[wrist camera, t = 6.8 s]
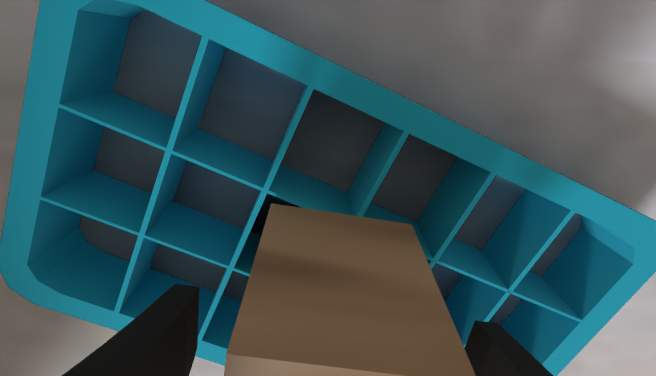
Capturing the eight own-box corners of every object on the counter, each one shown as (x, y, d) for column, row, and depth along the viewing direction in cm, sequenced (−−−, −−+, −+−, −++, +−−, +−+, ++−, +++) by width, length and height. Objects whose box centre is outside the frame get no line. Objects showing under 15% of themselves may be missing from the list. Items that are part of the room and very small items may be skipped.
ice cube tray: (463, 389, 20) (486, 450, 17) (48, 244, 16) (-8, 290, 13) (624, 198, 16) (688, 237, 13) (114, -53, 12) (52, -75, 9)
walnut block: (380, 332, 14) (415, 529, 9) (257, 316, 14) (212, 510, 8) (411, 224, 13) (479, 384, 7) (270, 203, 12) (226, 353, 7)
